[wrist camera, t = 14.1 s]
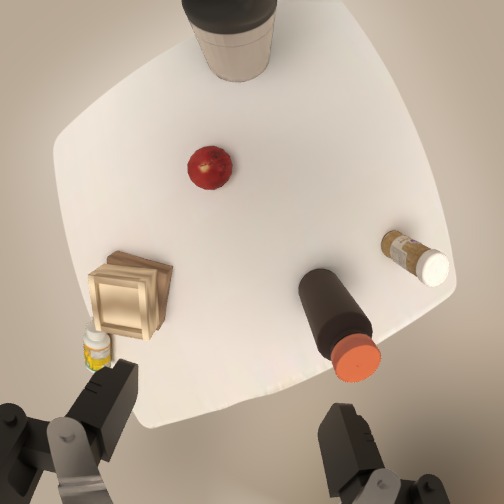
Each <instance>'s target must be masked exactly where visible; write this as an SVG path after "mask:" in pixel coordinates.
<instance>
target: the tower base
mask: <svg viewBox="0 0 504 504" xmlns="http://www.w3.org/2000/svg"><path fill="white" fill-rule="evenodd" d="M107 264H112V265H121V266H129V267H138V268H147V269H157V287H158V308H159V325H158V327H157V328H156V330H159V329H160V327H161V325H162V323H163V322H164V319H165V313H166V306H167V299H168V293H169V287H170V281H171V275H172V269H173V267H172V266H169V265H165V264H161V263H158V262H154V261H151V260H147V259H144V258H140V257H137V256H133V255H130V254H126V253H123V252H120V251H116V252H114V253H113V254H111V255H109V256H108V257H107Z"/></svg>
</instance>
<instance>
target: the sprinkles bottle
mask: <svg viewBox="0 0 504 504" xmlns="http://www.w3.org/2000/svg"><path fill="white" fill-rule="evenodd" d="M381 246H382V251H383V253H384V254H385V255H386V256H387V257H389V258H391V259H393V261H395V262H396V263H397V264H399V265H400V266H402V267H403V268H404V269H406V270H407V271H409V272H410V273H412V274H414V275H415V276H416V277H418V279H419V280H420V281H421V282H422V283H424V284H425V285H427V286H429V287H436V286H438V285H440V284H441V283H442V282H443V281H444V280H445V278H446V277H447V274H448V271H449V261H448V258H447V257H446V255H444V254H443V253H441V252H440V251H438V250H435V249H430V248H428V247H426V246H424V245H423V244H421V243H419V242H417V241H415V240H413V239H411V238H409V237H407V236H405V235H402V234H401V233H400V232H398V231H391V232H389V233H388V234H386V236H385V237H384V238H383V241H382V244H381Z"/></svg>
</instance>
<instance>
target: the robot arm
mask: <svg viewBox="0 0 504 504" xmlns="http://www.w3.org/2000/svg"><path fill="white" fill-rule="evenodd" d="M182 6H183V9H184V11H185V13H186V15H187V17H188V20H189V22H190V24H191V26H192V29H193V31H194V33H195V35H196V37H197V40H198V42H199V44H200V46H201V49H202V51H203V53H204V56H205V58H206V60H207V63H208V65H209V67H210V69H211V70H212V72H213V73H214V74H215V75H216V76H218V77H219V78H221V79H223V80H226V81H230V82H244V81H248V80H251V79H253V78H255V77H257V76H258V75H259V74H261V73H262V72H263V71H264V69H265V68H266V66H267V64H268V61H269V55H270V48H271V41H272V34H273V27H274V20H275V12H276V6H277V0H182ZM137 394H138V364H135V363H132V362H129V361H126V360H123V359H119V360H118V361H117V363H116V364H115V366H114V367H113V369H112V368H109V367H106V366H105V367H103V368H101V369H99V370H98V371H96V372H95V373H94V375H93V376H92V377H91V379H90V381H89V382H88V383H87V385H86V386H85V389H83V391H82V392H81V394H80V395H79V397H78V398H77V399H76V401H75V403H74V404H73V406H72V407H71V409H70V410H69V412H68V413H67V414H66V416H65V417H59V418H56V419H54V420H52V421H51V422H47V421H42V420H38V419H33V418H30V417H27V416H26V414H25V412H24V411H23V409H22V408H21V407H19V406H18V405H15V404H12V403H6V404H2V405H0V504H29V503H30V501H31V498H32V496H33V494H34V491H35V489H36V487H37V484H38V482H39V480H40V477H41V475H42V473H43V471H44V470H46V471H50V472H55V473H56V474H57V478H58V481H59V485H58V490H59V493H60V497H61V499H62V503H63V504H113V502H112V500H111V498H110V496H109V493H108V491H107V489H106V487H105V485H104V482H103V480H102V478H101V475H100V473H99V470H98V465H99V463H100V460H101V459H102V460H104V461H107V462H109V461H110V459H111V456H112V454H113V452H114V449H115V447H116V445H117V443H118V440H119V438H120V436H121V433H122V431H123V429H124V427H125V424H126V422H127V420H128V418H129V416H130V413H131V411H132V409H133V407H134V405H135V402H136V399H137ZM318 441H319V445H320V450H321V455H322V459H323V464H324V469H325V474H326V479H327V484H328V489H329V494H330V497H340V498H341V502H340V503H339V504H450V502H449V499H448V497H447V494H446V492H445V489H444V486H443V484H442V482H441V480H440V479H439V478H438V477H436V476H435V475H432V474H426V475H423V476H422V477H420V478H419V479H418V480H417V481H410V480H402V479H400V478H399V476H398V475H397V474H396V473H395V472H393V471H392V470H389V469H385V467H384V464H383V462H382V459H381V456H380V454H379V451H378V448H377V446H376V443H375V442H374V438H373V435H371V430H370V428H369V425H368V423H367V422H366V421H365V420H364V419H363V418H362V416H360V415H357V414H356V411H355V409H354V407H353V405H352V404H345V403H334V404H333V405H332V406H331V408H330V410H329V411H328V413H327V415H326V416H325V418H324V420H323V421H322V423H321V424H320V426H319V429H318Z"/></svg>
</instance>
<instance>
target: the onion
mask: <svg viewBox="0 0 504 504" xmlns="http://www.w3.org/2000/svg"><path fill="white" fill-rule="evenodd" d="M187 165H188V174H189V177H190V179H191V181H192V182H193V183H194V184H195V185H197V186H198V187H200V188H203V189H205V190H215V189H217V188H219V187H222V186H223V185H224V184H225V183H226V182H227V181H228V179H229V178H230V176H231V174H232V162H231V159H230V156H229V155H228V154H227V153H226V152H225V151H224V150H223V149H221V148H218V147H215V146H208V147H203V148H201V149H199V150H197V151H196V152H195V153H194V154H193V155H192V156H191V158H190V160H189V162H188V164H187Z"/></svg>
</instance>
